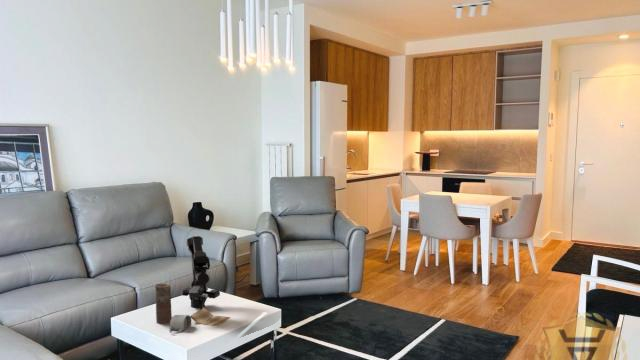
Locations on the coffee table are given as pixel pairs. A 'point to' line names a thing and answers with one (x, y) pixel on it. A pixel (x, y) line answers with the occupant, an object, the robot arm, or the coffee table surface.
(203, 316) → the plank
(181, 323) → the ceramic mug
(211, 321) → the floor board
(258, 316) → the coffee table surface
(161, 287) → the candle
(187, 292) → the robot arm
